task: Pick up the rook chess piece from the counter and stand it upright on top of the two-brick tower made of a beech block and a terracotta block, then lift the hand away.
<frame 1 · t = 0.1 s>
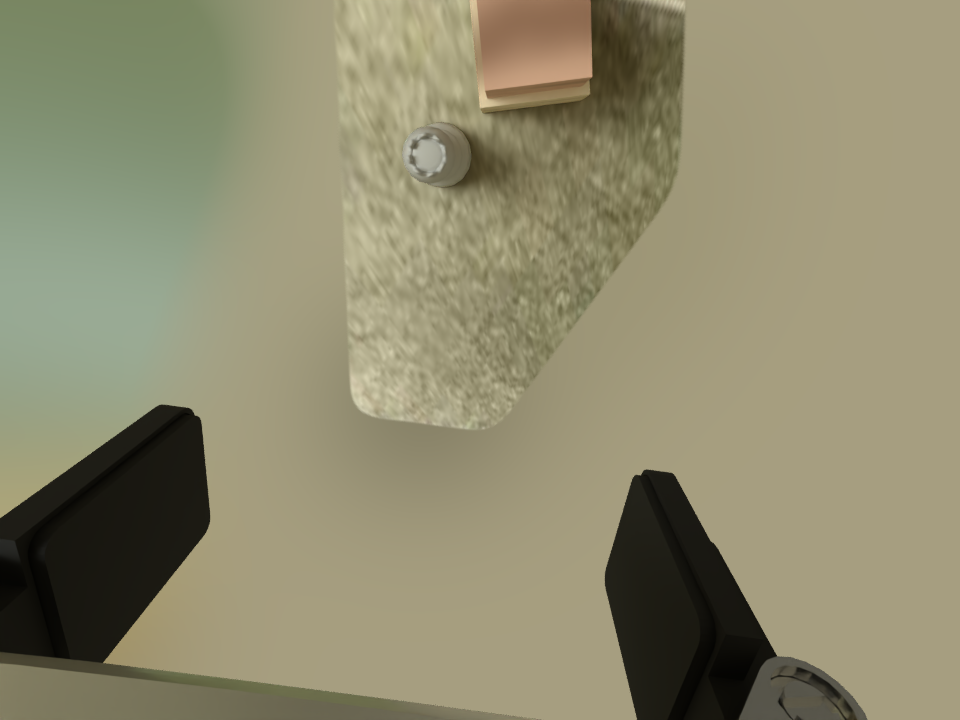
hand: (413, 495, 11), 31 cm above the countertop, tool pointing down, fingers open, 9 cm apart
rook chess piece: (442, 155, 37), on the countertop
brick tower: (527, 50, 34), on the countertop
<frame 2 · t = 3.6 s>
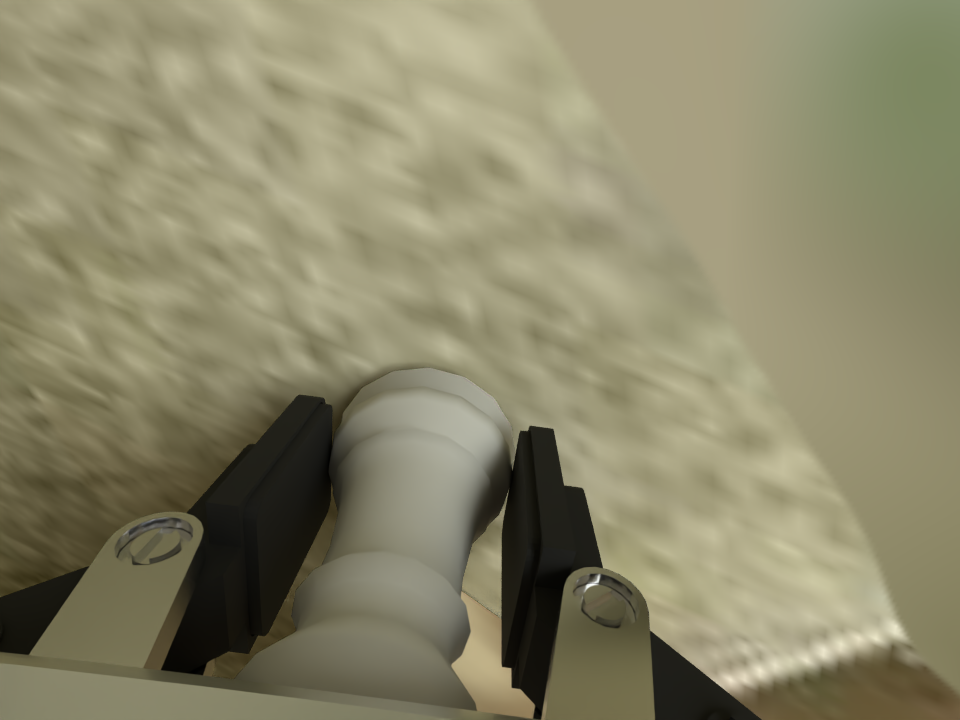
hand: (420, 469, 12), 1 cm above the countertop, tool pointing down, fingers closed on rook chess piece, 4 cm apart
rook chess piece: (429, 435, 13), on the countertop, touching gripper
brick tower: (434, 679, 16), on the countertop
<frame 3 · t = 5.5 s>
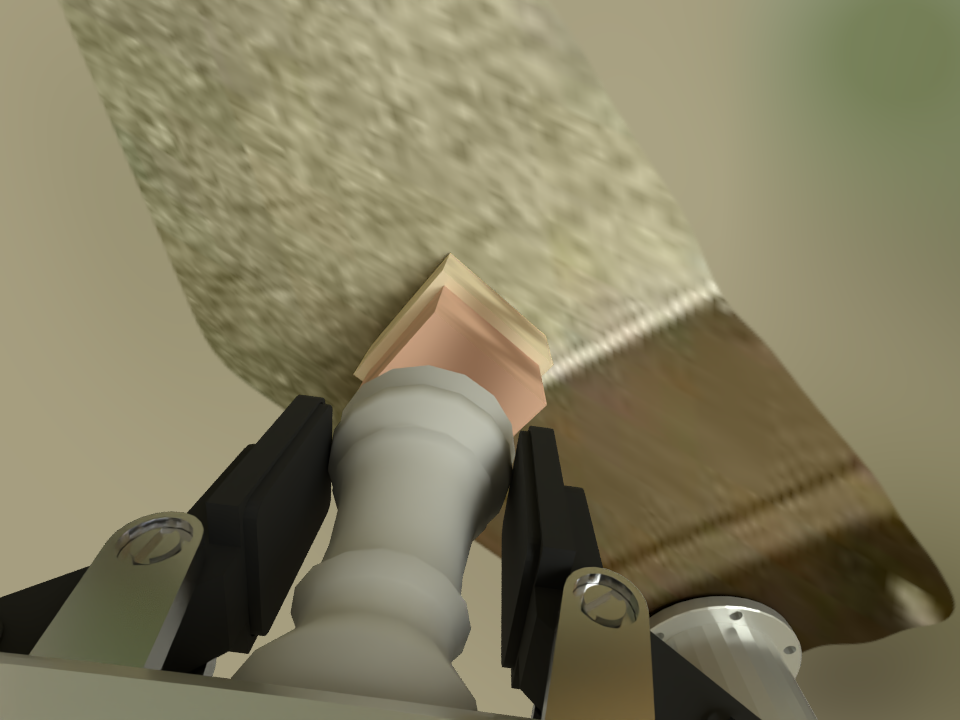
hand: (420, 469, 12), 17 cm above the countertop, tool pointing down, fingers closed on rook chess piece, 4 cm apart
rook chess piece: (429, 433, 13), point 15 cm above the countertop, touching gripper
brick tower: (457, 340, 28), on the countertop
when the fingers open (10 cm above the countertop, at t = 7.8 s): rook chess piece stays where it is, resting on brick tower.
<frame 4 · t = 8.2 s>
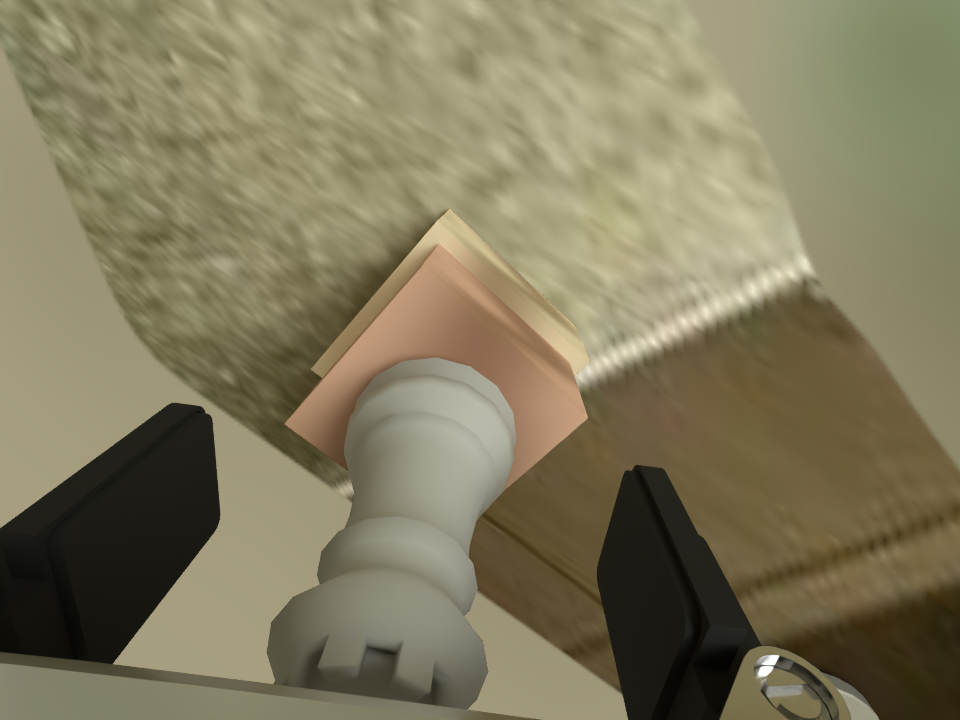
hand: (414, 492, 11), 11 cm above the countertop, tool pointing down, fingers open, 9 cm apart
rook chess piece: (436, 421, 14), point 8 cm above the countertop, touching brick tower
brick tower: (457, 329, 21), on the countertop
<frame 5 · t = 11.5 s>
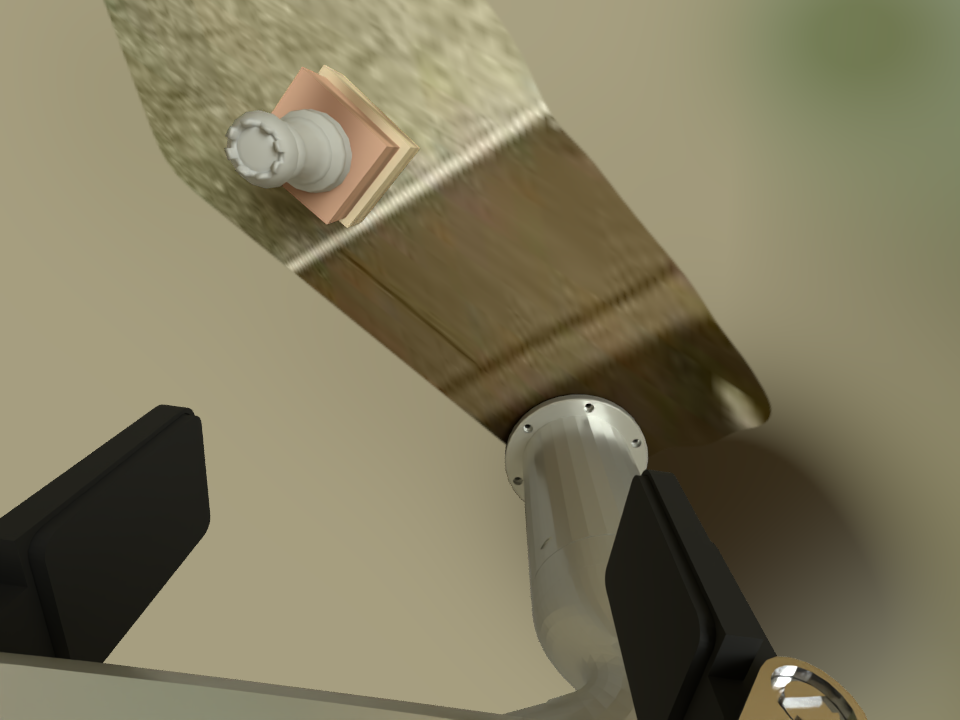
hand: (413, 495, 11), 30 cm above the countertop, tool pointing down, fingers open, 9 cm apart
rook chess piece: (317, 152, 29), point 8 cm above the countertop, touching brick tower
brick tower: (353, 151, 36), on the countertop
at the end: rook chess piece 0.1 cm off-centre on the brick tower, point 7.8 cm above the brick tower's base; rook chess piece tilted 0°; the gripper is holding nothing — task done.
